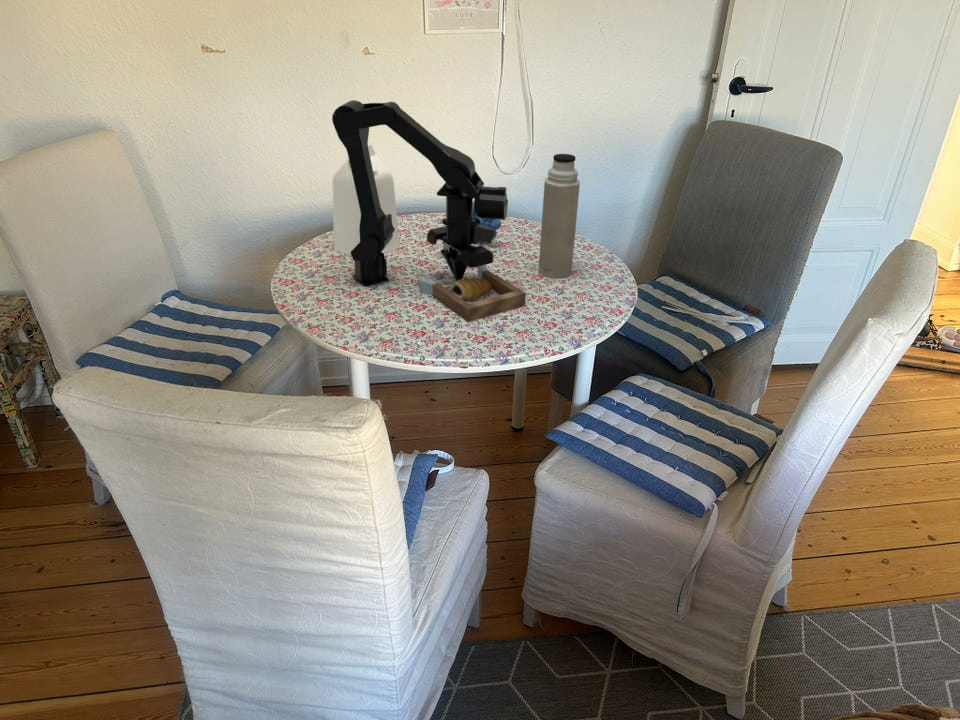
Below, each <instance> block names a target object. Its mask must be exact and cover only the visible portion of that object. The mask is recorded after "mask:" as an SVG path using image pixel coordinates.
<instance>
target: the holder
mask: <svg viewBox="0 0 960 720" xmlns="http://www.w3.org/2000/svg"><path fill="white" fill-rule="evenodd" d="M477 277H479V278H478V279H485V280H487V281H488V282H489V283H490V284H491V287H492V289H493V290H494V292H495V291H496V292H497V293H496V292H495V293H496V294H498V293H499V294H498V295H496V296H492V297H489V298H485V299H482V300H477V301H474V302H471V303H469V302H468V301H465V300H463V299H461V298H460V297H458V296H457V295H455V294H454V293H452V292H451V291H450V289H448V288H446V287H445V286H443V284H440V283H439V282H437V281H434V280H431V279H428V278H425V277H423V278H420V279H418V284H419V285H418V287H419V288H418V290H419V293H420V292H422V293H421V294H423V293H425V294H424V295H426V294H428V295H427V296H429V295H431V296H430V297H432V296H433V297H432V298H433V299H435V298H436V299H437V300H436V299H435V300H436V301H438V302H439V303H441V304H442V305H444V306H445V307H446V308H448V309H450V310H451V311H452V312H454V314H456V315H458V316H459V317H460V318H462V319H463V320H465V321H466V322H467V323H470V322H472V321H476V320H479V319H483V318H486V317H490V316H493V315H496V314H500V313H503V312H506V311H509V310H510V311H511V310H514V309H517V308H521V307H524V306H526V295H527V294H526V293H527V292H525V291H523V290H522V289H520V288H518V287H516V286H515V285H513V284H511V283H510V282H509V281H506V280H504V279H503V278H502V277H500V276H498V275H497V274H494V273H493V272H491V271H490V270H489V269H488V268H487V267H486V265H482V266H478V267H477ZM493 290H492V291H493Z"/></svg>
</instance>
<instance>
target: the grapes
mask: <svg viewBox="0 0 960 720" xmlns="http://www.w3.org/2000/svg"><path fill="white" fill-rule="evenodd" d="M472 217H476V218H478V219H480V224H483V225H486V226H488V227H490V228H492V229H494V230H495V233H494V236H493V239H492V240H494V239H495V238H496V237H497V234H498V233H497V230H499V229H500V228H501V227H502V220H498V219H486V218H479V216H476V213H475V212H474V201H473V214H472ZM478 244H480V245H484V244H486V242H483V241H478Z"/></svg>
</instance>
